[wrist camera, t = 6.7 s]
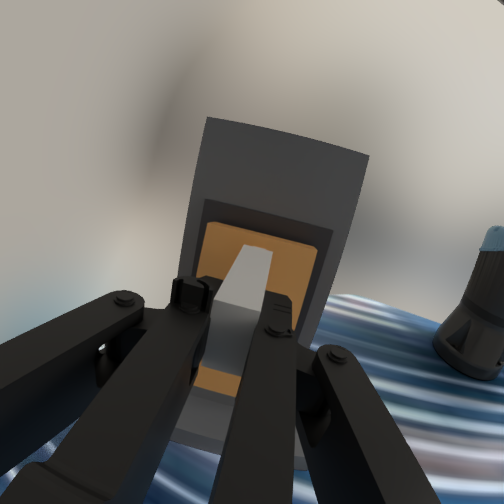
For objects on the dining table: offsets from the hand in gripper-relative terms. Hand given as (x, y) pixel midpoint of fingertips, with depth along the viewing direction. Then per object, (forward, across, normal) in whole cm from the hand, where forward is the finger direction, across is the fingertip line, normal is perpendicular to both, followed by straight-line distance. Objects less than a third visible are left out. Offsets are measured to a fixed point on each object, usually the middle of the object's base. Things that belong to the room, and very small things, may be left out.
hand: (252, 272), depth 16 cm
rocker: (0, 0, -8) cm, 8 cm away
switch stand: (+6, 0, -16) cm, 17 cm away
